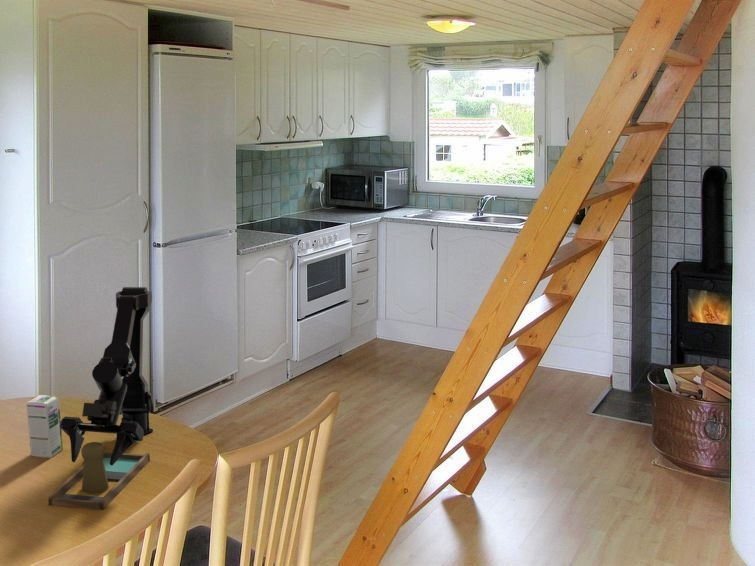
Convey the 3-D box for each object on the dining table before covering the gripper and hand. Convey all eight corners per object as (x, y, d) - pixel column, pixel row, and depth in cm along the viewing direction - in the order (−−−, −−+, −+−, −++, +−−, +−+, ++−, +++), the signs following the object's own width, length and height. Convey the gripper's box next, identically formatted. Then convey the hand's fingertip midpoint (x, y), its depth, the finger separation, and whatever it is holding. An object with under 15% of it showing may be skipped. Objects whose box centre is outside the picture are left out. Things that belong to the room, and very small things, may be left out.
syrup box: (51, 458, 225) (47, 403, 222) (29, 456, 226) (25, 401, 223) (63, 449, 231) (59, 395, 227) (42, 447, 232) (38, 393, 228)
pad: (104, 458, 225) (103, 457, 225) (143, 462, 224) (143, 460, 224) (90, 471, 218) (90, 469, 218) (131, 474, 217) (131, 473, 217)
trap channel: (101, 456, 226) (100, 449, 226) (149, 460, 225) (149, 453, 224) (48, 505, 201) (48, 496, 200) (102, 509, 199) (102, 501, 199)
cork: (97, 480, 213) (94, 436, 211) (114, 487, 210) (112, 443, 208) (76, 489, 209) (73, 445, 206) (93, 496, 205) (90, 451, 203)
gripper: (60, 384, 210) (39, 447, 202) (136, 389, 207) (118, 453, 199) (78, 404, 219) (59, 465, 211) (151, 409, 216) (134, 471, 208)
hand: (92, 463), depth 207 cm, fingers open, 9 cm apart
